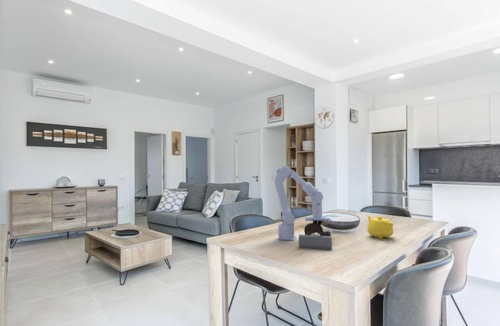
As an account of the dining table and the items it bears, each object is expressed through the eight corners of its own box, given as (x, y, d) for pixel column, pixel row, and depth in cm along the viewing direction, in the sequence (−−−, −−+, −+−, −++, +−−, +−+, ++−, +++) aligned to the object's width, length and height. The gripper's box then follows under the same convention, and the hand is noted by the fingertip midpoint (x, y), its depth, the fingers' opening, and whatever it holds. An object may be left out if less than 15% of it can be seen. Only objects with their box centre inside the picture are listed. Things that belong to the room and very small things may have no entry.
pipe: (330, 232, 150) (329, 221, 164) (302, 232, 153) (303, 222, 168) (332, 248, 151) (330, 237, 165) (304, 249, 154) (305, 237, 169)
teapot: (375, 232, 180) (375, 213, 180) (401, 239, 161) (401, 218, 161) (359, 234, 175) (358, 214, 176) (383, 241, 157) (383, 220, 157)
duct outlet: (298, 247, 148) (298, 234, 148) (300, 244, 153) (299, 232, 153) (331, 249, 143) (331, 235, 143) (331, 246, 148) (331, 233, 148)
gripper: (304, 211, 167) (305, 233, 167) (329, 212, 163) (329, 235, 162) (305, 209, 174) (306, 231, 173) (329, 210, 169) (330, 232, 169)
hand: (317, 232), depth 168 cm, fingers closed, pressing on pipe
